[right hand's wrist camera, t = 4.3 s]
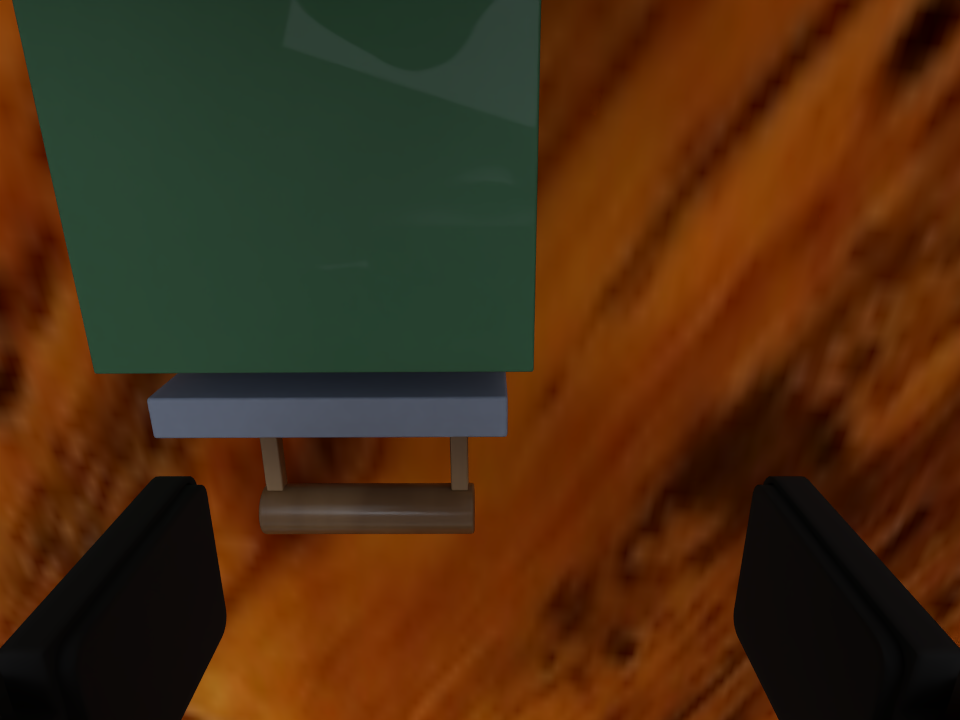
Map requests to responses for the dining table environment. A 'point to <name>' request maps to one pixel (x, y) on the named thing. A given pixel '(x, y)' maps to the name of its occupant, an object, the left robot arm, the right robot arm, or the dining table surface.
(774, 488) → the right robot arm
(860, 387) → the dining table surface
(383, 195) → the cabinet
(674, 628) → the dining table surface
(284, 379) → the drawer
